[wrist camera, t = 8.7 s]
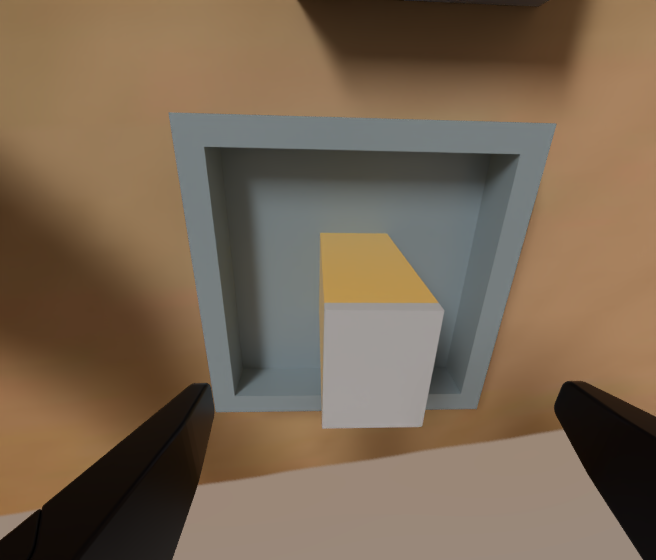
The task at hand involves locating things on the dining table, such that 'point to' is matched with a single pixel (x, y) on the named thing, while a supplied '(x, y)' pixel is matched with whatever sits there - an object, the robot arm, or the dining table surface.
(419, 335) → the block
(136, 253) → the dining table surface
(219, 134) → the parts tray
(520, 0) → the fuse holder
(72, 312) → the dining table surface
